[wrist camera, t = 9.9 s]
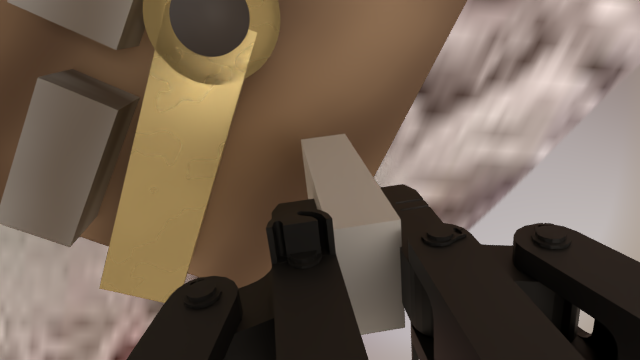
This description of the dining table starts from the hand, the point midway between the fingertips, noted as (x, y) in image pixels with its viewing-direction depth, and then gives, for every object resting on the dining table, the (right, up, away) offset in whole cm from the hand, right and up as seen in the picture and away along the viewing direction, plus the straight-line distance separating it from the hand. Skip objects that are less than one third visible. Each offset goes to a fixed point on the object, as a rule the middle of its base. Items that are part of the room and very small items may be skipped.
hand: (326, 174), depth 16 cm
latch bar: (-6, +3, +4) cm, 7 cm away
